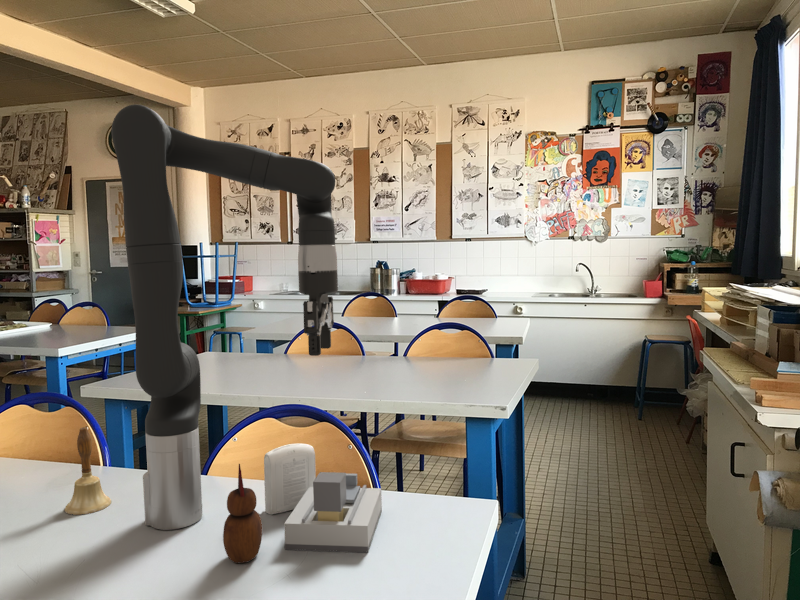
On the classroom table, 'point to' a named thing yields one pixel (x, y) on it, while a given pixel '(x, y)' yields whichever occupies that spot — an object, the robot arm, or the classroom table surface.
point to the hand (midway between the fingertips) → (320, 351)
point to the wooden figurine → (242, 525)
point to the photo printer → (288, 476)
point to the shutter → (351, 488)
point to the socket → (334, 524)
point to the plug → (330, 496)
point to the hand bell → (86, 482)
